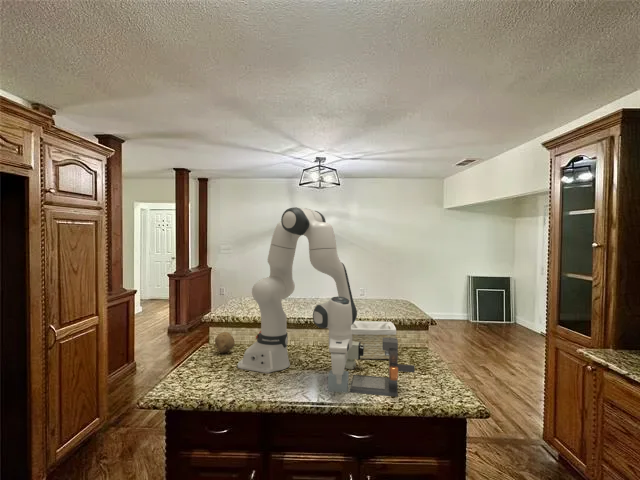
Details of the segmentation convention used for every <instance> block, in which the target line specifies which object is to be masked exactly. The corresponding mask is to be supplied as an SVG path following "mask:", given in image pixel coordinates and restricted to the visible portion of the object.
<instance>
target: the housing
mask: <svg viewBox="0 0 640 480" xmlns="http://www.w3.org/2000/svg"><path fill="white" fill-rule="evenodd" d="M349 377H350V376H349V371H347V370H345V371H344V372H343V375H342V383H341V384H337V379H336V375H333V373H332V369H329V372H328V373H327V391H328V392H336V393H346V394H347V393H348V389H349Z"/></svg>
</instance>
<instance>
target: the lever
mask: <svg viewBox="0 0 640 480" xmlns="http://www.w3.org/2000/svg"><path fill="white" fill-rule="evenodd" d="M388 377H389V379H390V380H394V381H395V380H397V381H398V380H399V371H398V367H396V366H390V367H389V366H388Z"/></svg>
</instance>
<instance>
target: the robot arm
mask: <svg viewBox="0 0 640 480" xmlns="http://www.w3.org/2000/svg"><path fill="white" fill-rule="evenodd" d="M301 236H304V237H306V238H307V240H308V253H309V262H310V264H311V266H312V267H313V268H314V269H315V270H317V272H320V273H322V274H325V275H327V276H330V277H331V278H332V279H333V280H334V283H335V285H336V290H337V295H338V296H333V297H331V298H330V299H329V300H328V301H326V302H323V303H319V304H317V305H316V306H315V307H314V309H313V311H312V320H313V323H314V325H315V326H317V327H318V328H320V329H328V352H329V353H330V359H331V361H330V362H331V370H332V373H333V375H336V379H337V384H341V383H342V375H343V372H344V371H346V370H345V369H346V368H345V365H346V361H347V357H348V351H349V349H350V348H351V347H352V329H351V325H352V324H353V323H354V322H355V321H357V317H358V309H357V308H356V304H355V302H354V298H353V294H352V289H351V285H350V280H349V276H348V271H347V268H346V266H345V263H343V262H342V261H341V259H340V257H339V255H338V251H337V250H338V249H337V240H336V236H335V232H334V228H333V226H332V225H331V224H330V223H328V222H326V218H325V216H324V215H323V214H322V213H321V212H320V211H317V210H313V209H309V208H306V207H305V208H303V207H301V208H300V207H295V206H294V207H290V208H287V209H285V211H283V213H282V215H281V219H280V221H279V222H278V223H277V224H276V225H275V228H274V231H273V234H272V238H271V241H270V247H269V251H268V255H267V264H268V265H269V277H264V278H261V279H260V280H258V281H256V282H255V283H254V284H253V286H252V288H251V294H252V298H253V300H254V301H255V302H256V303H257V305H258V309H259V312H260V323H261V324H260V331H259V332H258V333H257V334H256V335H255V340H256V342H255V341H254V343H253V344H251V345H250V346H249V347H248V348H247V349H245V352H244V353H243V358H241V359H240V360H239V361H238V363H237V369H241V370H246V371H247V370H248V371H253V372H258V373H264V374H268V373H269V374H270V373H272V372H279V371H282V370H285V369H287V368H289V367H290V366H291V363H290V360H289V354H288V343H289V342H288V341H289V339H288V337H289V336H288V332H287V331H288V330H287V327H288V326H287V324H288V322H287V318H288V317H287V313H286V312H285V311H284V308H283V303H282V301H283V300H285V299H287V298H289V297H290V296H291V295H293V293H294V291H295V282H294V280H293V264H294V259H295V255H296V249H297V244H298V240H299V238H300V237H301Z"/></svg>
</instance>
